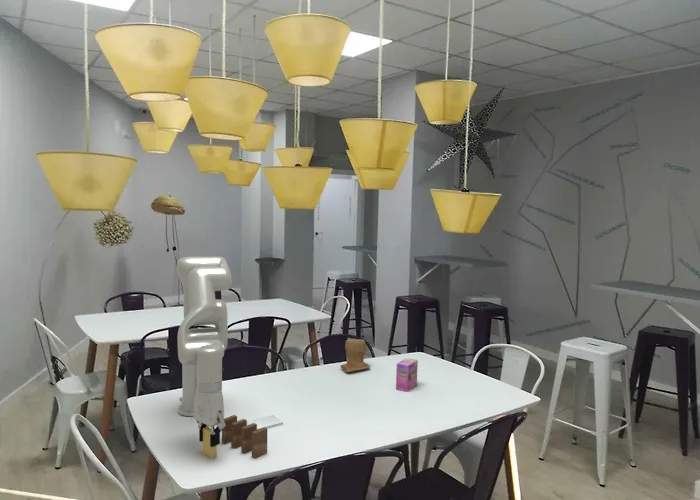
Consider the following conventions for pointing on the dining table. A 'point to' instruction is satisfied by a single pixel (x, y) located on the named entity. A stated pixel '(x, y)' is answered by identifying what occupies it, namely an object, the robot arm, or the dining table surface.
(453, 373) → the dining table surface
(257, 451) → the walnut domino
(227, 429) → the walnut domino
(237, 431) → the walnut domino
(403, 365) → the box
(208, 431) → the ochre domino
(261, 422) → the hard drive
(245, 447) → the walnut domino
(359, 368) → the brown statuette
